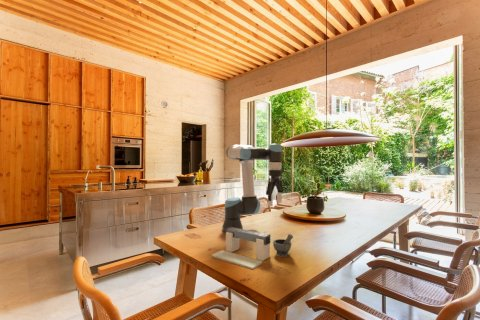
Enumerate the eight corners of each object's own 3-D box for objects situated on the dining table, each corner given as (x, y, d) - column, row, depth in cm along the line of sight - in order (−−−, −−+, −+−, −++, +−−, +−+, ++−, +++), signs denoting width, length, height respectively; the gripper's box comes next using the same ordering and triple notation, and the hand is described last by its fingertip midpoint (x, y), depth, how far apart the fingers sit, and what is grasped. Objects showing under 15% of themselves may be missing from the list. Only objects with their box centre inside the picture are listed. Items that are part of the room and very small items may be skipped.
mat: (211, 256, 129) (211, 255, 129) (222, 251, 136) (222, 250, 136) (252, 269, 114) (252, 267, 114) (262, 262, 121) (262, 261, 121)
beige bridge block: (225, 250, 137) (226, 232, 137) (233, 246, 144) (234, 229, 144) (231, 252, 135) (231, 233, 135) (239, 248, 141) (239, 230, 141)
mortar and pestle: (269, 254, 132) (270, 232, 132) (278, 249, 139) (279, 229, 139) (288, 260, 125) (288, 236, 125) (296, 255, 132) (296, 233, 132)
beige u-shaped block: (256, 259, 126) (256, 238, 126) (263, 254, 132) (263, 235, 132) (262, 260, 124) (262, 240, 124) (269, 256, 130) (269, 236, 130)
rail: (226, 236, 139) (226, 228, 139) (231, 234, 143) (231, 226, 143) (265, 245, 124) (265, 236, 124) (270, 242, 128) (270, 234, 128)
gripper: (272, 170, 134) (272, 208, 134) (288, 169, 155) (288, 202, 155) (260, 169, 138) (259, 207, 138) (277, 168, 159) (277, 201, 159)
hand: (275, 204), depth 146 cm, fingers open, 13 cm apart
